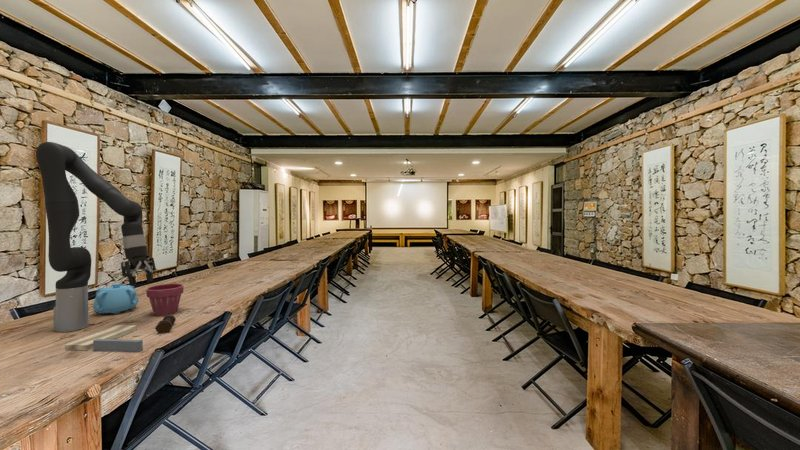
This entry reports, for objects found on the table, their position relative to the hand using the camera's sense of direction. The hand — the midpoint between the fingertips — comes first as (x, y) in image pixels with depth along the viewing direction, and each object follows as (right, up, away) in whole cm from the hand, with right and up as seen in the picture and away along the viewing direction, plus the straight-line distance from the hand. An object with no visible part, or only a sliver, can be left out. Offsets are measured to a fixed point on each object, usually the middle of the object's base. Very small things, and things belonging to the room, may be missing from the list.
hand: (142, 283), depth 135 cm
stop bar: (+13, -18, -26) cm, 34 cm away
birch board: (-1, -18, -16) cm, 24 cm away
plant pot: (-2, -17, +17) cm, 24 cm away
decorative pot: (-27, -17, +18) cm, 37 cm away
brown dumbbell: (+13, -18, -3) cm, 23 cm away
